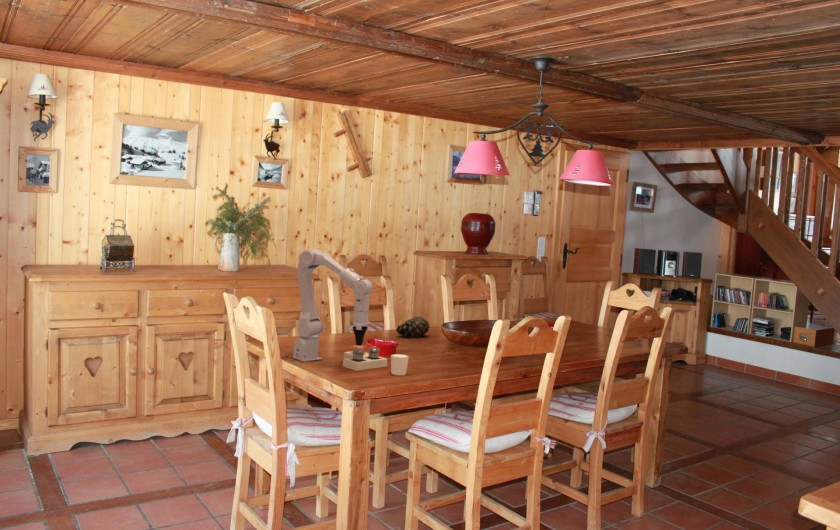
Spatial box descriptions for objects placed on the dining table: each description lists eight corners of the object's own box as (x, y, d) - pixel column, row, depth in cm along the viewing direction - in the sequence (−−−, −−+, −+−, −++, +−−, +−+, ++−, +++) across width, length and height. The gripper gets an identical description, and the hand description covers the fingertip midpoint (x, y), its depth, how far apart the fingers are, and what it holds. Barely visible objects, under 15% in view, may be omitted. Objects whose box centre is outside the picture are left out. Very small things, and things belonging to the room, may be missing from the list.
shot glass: (407, 372, 278) (408, 354, 277) (407, 376, 271) (409, 358, 270) (389, 371, 277) (391, 353, 277) (389, 375, 270) (390, 356, 270)
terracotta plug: (356, 358, 288) (357, 347, 287) (349, 356, 291) (350, 345, 291) (365, 357, 291) (366, 346, 291) (358, 355, 294) (359, 344, 294)
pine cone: (392, 336, 350) (394, 316, 349) (417, 333, 363) (418, 314, 362) (408, 340, 343) (409, 320, 342) (432, 337, 356) (434, 317, 355)
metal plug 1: (357, 363, 275) (357, 352, 275) (349, 360, 279) (350, 349, 278) (366, 362, 279) (366, 351, 278) (358, 359, 282) (359, 348, 282)
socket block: (356, 370, 273) (356, 363, 273) (327, 361, 285) (328, 354, 285) (386, 366, 285) (387, 359, 284) (358, 357, 297) (359, 350, 297)
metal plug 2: (372, 361, 281) (373, 350, 281) (365, 358, 284) (365, 347, 284) (381, 360, 284) (382, 349, 284) (373, 357, 288) (374, 346, 287)
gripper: (370, 314, 270) (367, 349, 271) (372, 308, 284) (370, 342, 285) (351, 312, 270) (349, 348, 271) (355, 307, 284) (352, 341, 285)
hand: (358, 345), depth 278 cm, fingers closed
